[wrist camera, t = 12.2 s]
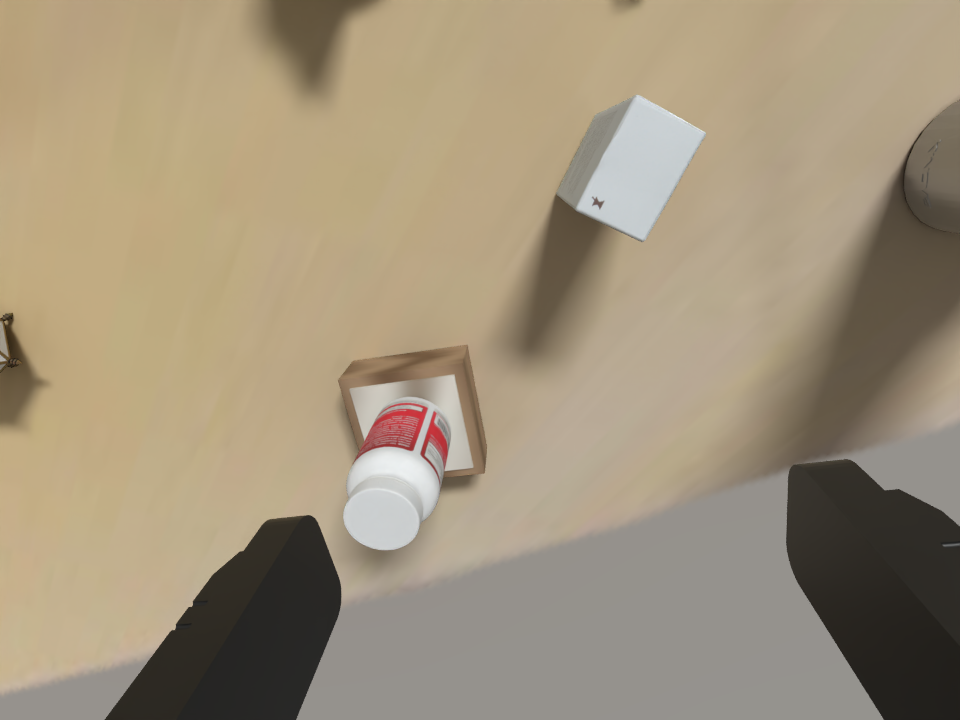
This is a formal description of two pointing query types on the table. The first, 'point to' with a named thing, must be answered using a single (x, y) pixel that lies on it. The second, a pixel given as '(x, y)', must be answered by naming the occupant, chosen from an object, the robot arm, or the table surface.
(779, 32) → the table surface
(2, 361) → the game die
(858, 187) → the table surface
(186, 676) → the robot arm
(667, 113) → the skincare box
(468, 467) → the base
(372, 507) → the pill bottle
